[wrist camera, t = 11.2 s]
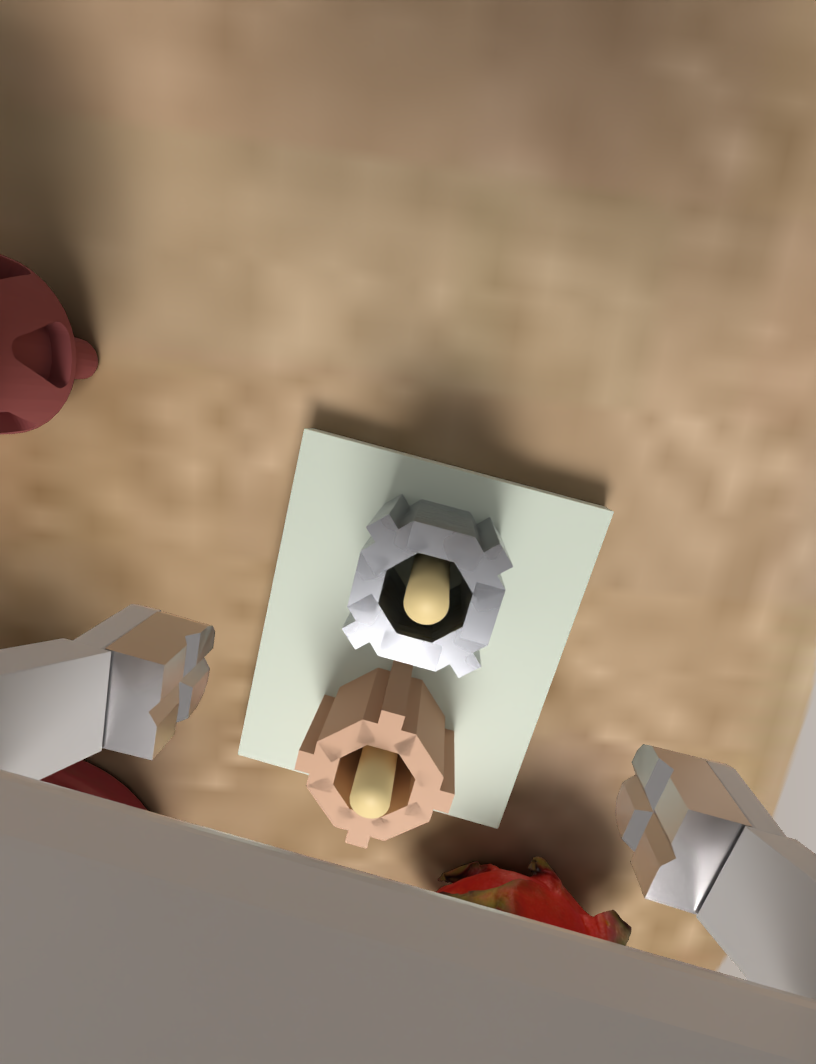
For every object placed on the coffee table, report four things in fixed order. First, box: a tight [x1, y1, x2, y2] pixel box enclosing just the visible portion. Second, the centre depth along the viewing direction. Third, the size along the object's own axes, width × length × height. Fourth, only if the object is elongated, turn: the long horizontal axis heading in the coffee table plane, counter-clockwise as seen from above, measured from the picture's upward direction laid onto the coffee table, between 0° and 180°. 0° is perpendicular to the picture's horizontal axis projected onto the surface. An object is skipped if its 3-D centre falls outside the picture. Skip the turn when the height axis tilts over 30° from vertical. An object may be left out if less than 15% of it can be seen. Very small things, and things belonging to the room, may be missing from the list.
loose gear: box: [342, 494, 513, 678], centre depth 19 cm, size 5×5×4 cm
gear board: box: [238, 428, 614, 849], centre depth 20 cm, size 16×13×6 cm
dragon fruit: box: [436, 857, 631, 946], centre depth 23 cm, size 8×8×12 cm
